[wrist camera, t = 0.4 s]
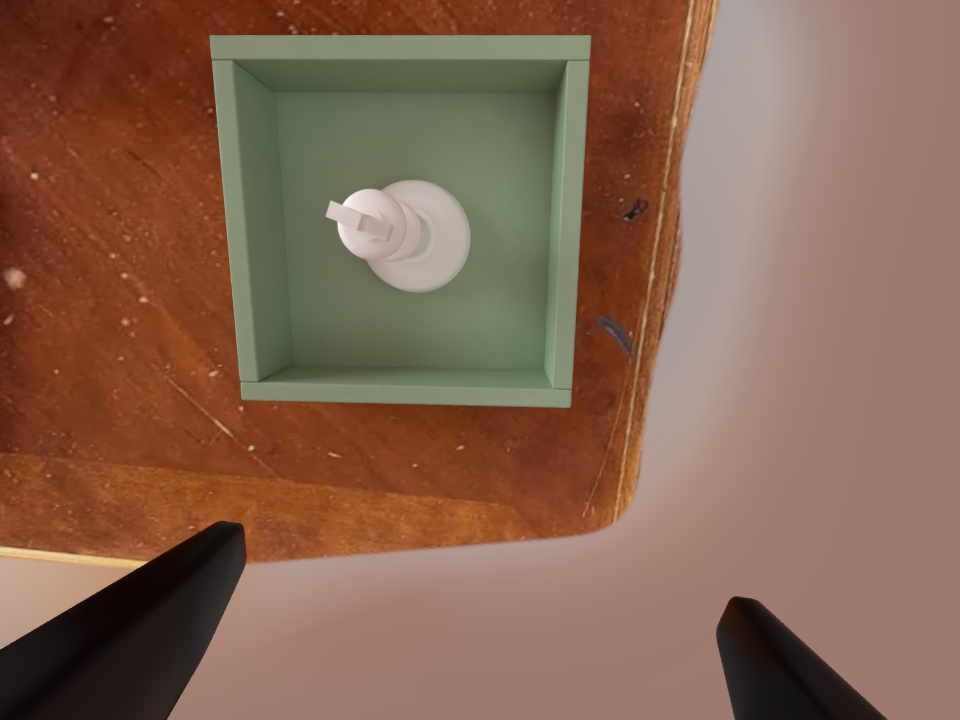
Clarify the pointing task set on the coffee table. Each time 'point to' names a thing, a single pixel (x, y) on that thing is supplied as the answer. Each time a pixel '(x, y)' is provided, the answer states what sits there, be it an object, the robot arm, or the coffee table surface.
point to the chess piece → (406, 233)
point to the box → (379, 163)
